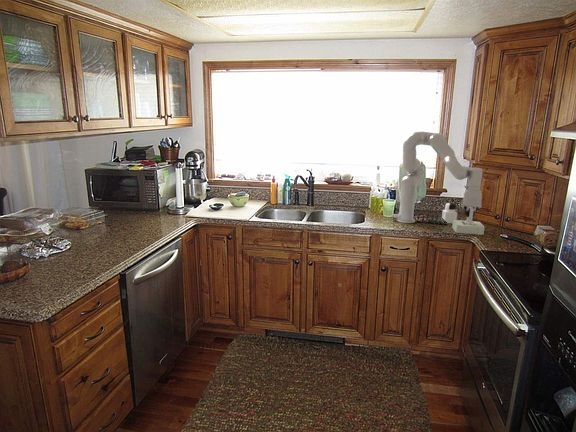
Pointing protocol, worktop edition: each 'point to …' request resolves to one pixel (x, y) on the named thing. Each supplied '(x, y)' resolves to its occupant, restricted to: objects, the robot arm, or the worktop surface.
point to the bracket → (469, 219)
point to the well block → (468, 227)
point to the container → (449, 213)
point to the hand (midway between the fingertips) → (469, 216)
